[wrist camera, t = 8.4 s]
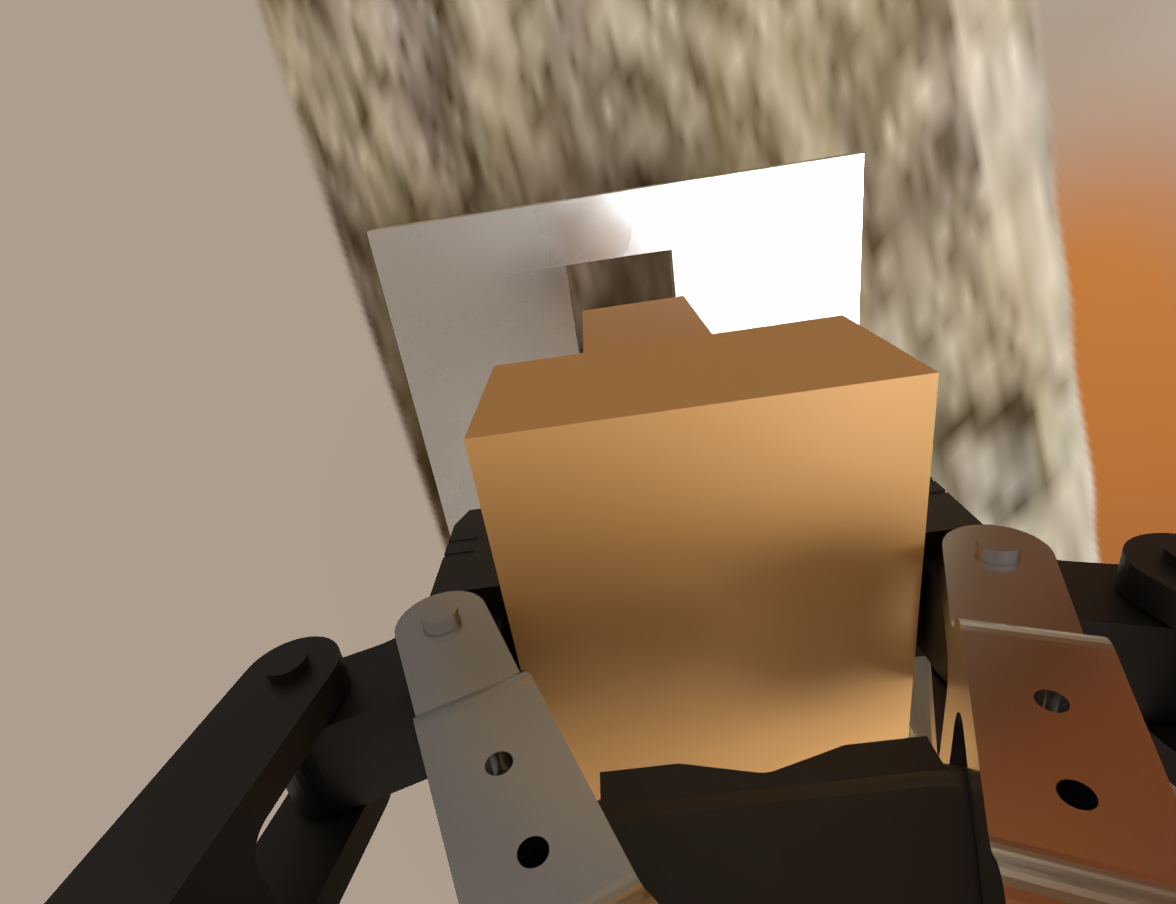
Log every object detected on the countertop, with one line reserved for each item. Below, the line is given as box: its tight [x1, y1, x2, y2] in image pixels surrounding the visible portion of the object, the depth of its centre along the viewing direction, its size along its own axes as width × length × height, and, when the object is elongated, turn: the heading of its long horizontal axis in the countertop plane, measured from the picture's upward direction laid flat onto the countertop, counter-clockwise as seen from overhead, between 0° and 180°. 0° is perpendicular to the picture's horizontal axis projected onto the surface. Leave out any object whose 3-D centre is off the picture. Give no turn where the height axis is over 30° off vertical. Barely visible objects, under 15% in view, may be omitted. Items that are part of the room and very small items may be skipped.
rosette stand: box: [367, 153, 864, 536], centre depth 31 cm, size 18×20×13 cm
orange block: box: [464, 296, 939, 800], centre depth 14 cm, size 6×7×12 cm
